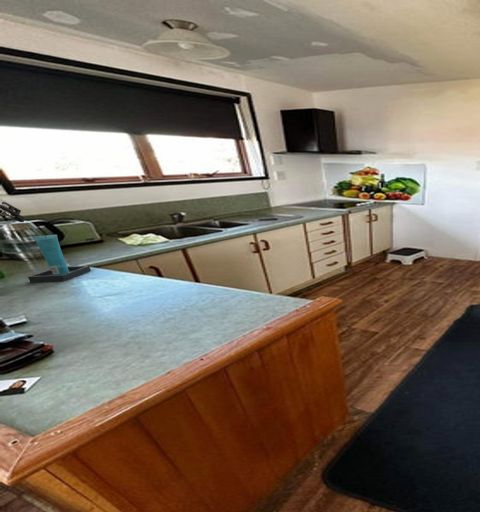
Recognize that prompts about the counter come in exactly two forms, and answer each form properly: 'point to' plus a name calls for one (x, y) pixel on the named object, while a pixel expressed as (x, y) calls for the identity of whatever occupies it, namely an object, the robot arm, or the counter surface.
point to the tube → (52, 253)
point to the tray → (49, 275)
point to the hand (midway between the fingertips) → (9, 221)
